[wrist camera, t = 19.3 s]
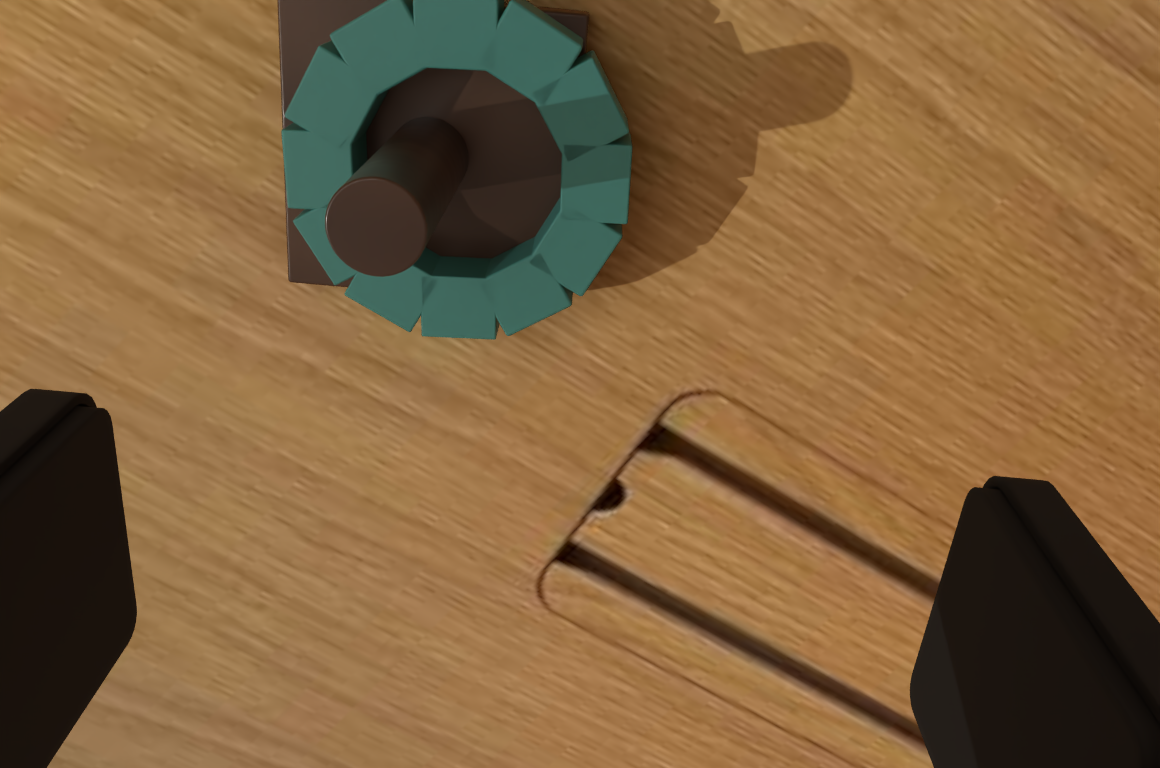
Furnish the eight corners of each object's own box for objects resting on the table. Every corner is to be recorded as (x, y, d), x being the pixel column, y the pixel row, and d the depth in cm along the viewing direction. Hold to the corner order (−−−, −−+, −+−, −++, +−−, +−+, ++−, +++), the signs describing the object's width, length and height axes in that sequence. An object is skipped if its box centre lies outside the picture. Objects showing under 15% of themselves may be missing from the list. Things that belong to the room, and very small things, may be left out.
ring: (289, -21, 28) (268, -18, 26) (639, -4, 28) (642, 0, 26) (314, 308, 32) (297, 331, 31) (618, 322, 32) (619, 345, 31)
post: (288, -17, 29) (164, 4, 21) (589, 11, 30) (585, 43, 21) (298, 271, 33) (196, 386, 25) (565, 294, 33) (553, 417, 25)
